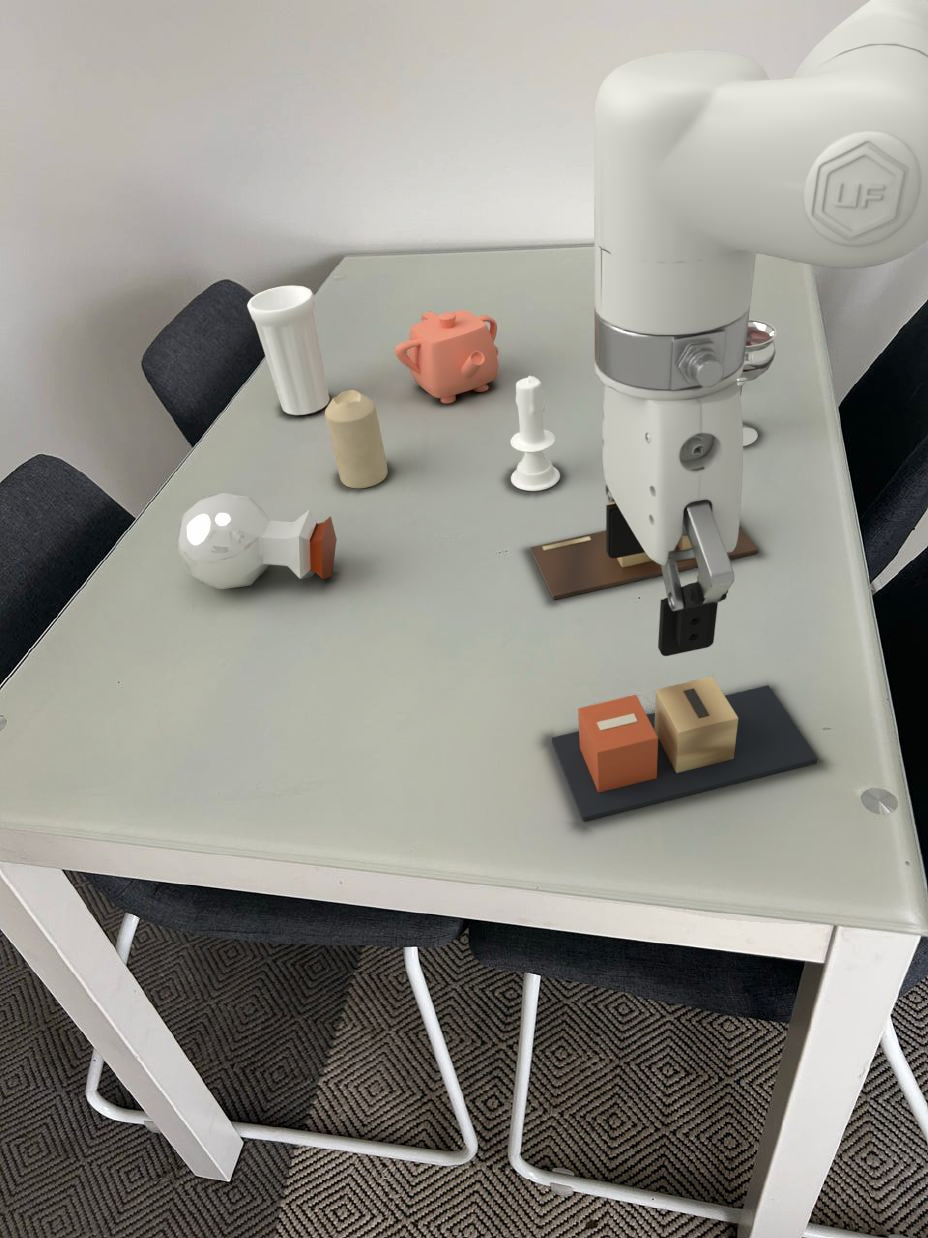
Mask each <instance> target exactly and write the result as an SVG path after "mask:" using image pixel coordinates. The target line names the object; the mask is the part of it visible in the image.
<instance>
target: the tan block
mask: <svg viewBox="0 0 928 1238" xmlns="http://www.w3.org/2000/svg"><path fill="white" fill-rule="evenodd" d="M725 696H726V695H725V694H724V692H723V690H722V689H721V688H720V686H719V684H718V683H717V681H716V679H715V677H714V676H712V675H711V676H708V677H704V678H700V679H695V680H691V681H686V682H683V683H678V684H674V685H670V686H665V687H661V688H658V689H657V688H656V689H655V698H654V699H655V700H654V713H655V732H656V734H657V736H658V738H659V740H660V742H661V744H662V746H663V748H664V750H665V752H666V754H667V756H668V758H669V760H670V762H671V763H672V765H673V767H674V769H675V771H676V773H679V772H683V771H687V770H691V769H695V768H699V767H703V766H707V765H711V764H715V763H719V762H723V761H727V760H731V759H734V751H735V743H736V734H737V725H738V717H737V715H736V713H735V712H734V710H733V709H732V707H731V705H730V704H729V702H728V700H727V699H726V697H725Z"/></svg>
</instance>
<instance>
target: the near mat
mask: <svg viewBox="0 0 928 1238" xmlns="http://www.w3.org/2000/svg"><path fill="white" fill-rule="evenodd" d="M724 696H725V697H726V699H727V700H728V702H729V704H730V705H731V707H732V709H733V710H734V712H735V713H736V715H737V717H738V725H737V734H736V743H735V751H734V759H731V760H727V761H723V762H719V763H715V764H711V765H707V766H703V767H699V768H695V769H691V770H687V771H683V772H679V773H676V771H675V769H674V767H673V765H672V763H671V762H670V760H669V758H668V756H667V754H666V752H665V750H664V748H663V746H662V744H661V742H660V740H659V738H658V754H657V778H656V779H652V780H648V781H644V782H640V783H636V784H632V785H628V786H624V787H620V788H615V789H611V790H607V791H603V792H598V790H597V788H596V785H595V783H594V781H593V778H592V776H591V774H590V771H589V769H588V766H587V764H586V762H585V759H584V757H583V755H582V752H581V750H580V739H579V730H578V731H574V732H570V733H565V734H562V735H558V736H554V737H551V743H552V745H553V748H554V751H555V753H556V756H557V758H558V762H559V763H560V766H561V768H562V771H563V774H564V776H565V779H566V781H567V784H568V786H569V789H570V791H571V794H572V797H573V800H574V802H575V805H576V807H577V809H578V812H579V815H580V817H581V820H582V822H586V821H590V820H595V819H598V818H602V817H605V816H610V815H615V814H618V813H623V812H626V811H630V810H634V809H638V808H642V807H646V806H650V805H654V804H658V803H662V802H666V801H670V800H673V799H679V798H682V797H685V796H686V797H687V796H690V795H694V794H697V793H701V792H706V791H709V790H714V789H717V788H722V787H725V786H729V785H733V784H738V783H741V782H745V781H749V780H753V779H757V778H761V777H765V776H769V775H773V774H777V773H781V772H785V771H789V770H793V769H797V768H801V767H805V766H808V765H812V764H816V763H818V761H819V759H818V756H817V755H816V753H815V752H814V751H813V749H812V747H811V746H810V745H809V743H808V741H807V740H806V739H805V737H804V735H803V734H802V733H801V731H800V729H799V728H798V726H797V725H796V724H795V722H794V721H793V719H792V718H791V717H790V714H788V712H787V711H786V709H785V708H784V706H783V705H782V703H781V702H780V699H778V697H777V696H776V694H775V693H774V692H773V690H772V689H771V687H770V686H769V685H768V684H767V685H762V686H759V687H754V688H750V689H747V690H743V691H739V692H734V693H730V694H726V695H724ZM646 715H647V717H648V719H649V721H650V723H651V725H652V727H653V729H654V731H655V712H651V713H648V714H647V713H646ZM655 733H656V732H655ZM656 735H657V734H656ZM657 737H658V736H657Z"/></svg>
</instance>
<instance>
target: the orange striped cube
mask: <svg viewBox="0 0 928 1238" xmlns="http://www.w3.org/2000/svg"><path fill="white" fill-rule="evenodd" d="M577 714H578V731H579V739H580V750H581V752H582V755H583V757H584V759H585V762H586V764H587V766H588V769H589V771H590V774H591V776H592V778H593V781H594V783H595V785H596V788H597V790H598V792H603V791H607V790H611V789H615V788H620V787H624V786H628V785H632V784H636V783H640V782H644V781H648V780H652V779H656V778H657V754H658V737H657V735H656V733H655V731H654V729H653V727H652V725H651V723H650V721H649V719H648V717H647V713H646V711H645V710H644V707H643V705H642V704H641V701H640V700H639V698H638V695H637V694H633V695H629V696H624V697H619V698H615V699H610V700H608V701H603V702H599V703H595V704H592V705H587V706H583V707H579V708H577Z"/></svg>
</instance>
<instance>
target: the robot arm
mask: <svg viewBox="0 0 928 1238" xmlns="http://www.w3.org/2000/svg"><path fill="white" fill-rule="evenodd" d="M593 223H594V224H593V242H594V243H593V251H594V252H593V257H594V260H593V263H594V264H593V265H594V267H593V268H594V269H593V270H594V271H593V272H594V273H593V275H594V277H593V279H594V280H593V281H594V286H593V287H594V289H593V290H594V308H593V309H594V311H593V313H594V319H593V320H594V372H595V375H596V377H597V378H598V380H599V381H600V382H601V383H602V384H604V391H603V408H602V447H601V448H602V465H603V466H602V467H603V476H604V480H605V483H606V484H605V487H604V489H605V496H606V500H607V501H608V502H615V504H610V505H606V504H605V518H606V519H605V524H606V525H605V526H606V527H605V530H606V552H607V554H608V555H609V557H610V558H620V557H625V556H630V555H635V554H640V553H645V552H646V554H647V555H648V556H649V557H650V558H651V559H652V560H653V561H655V562H656V563H658V564H660V565H661V568H662V573H663V575H662V579H663V582H664V588H665V593H666V597H665V598H663V599H660V606H659V620H658V621H659V623H658V641H657V642H658V643H657V648H658V651H659V652H660V654H661V655H662V656H663V657H669V656H674V655H678V654H685V653H688V652H694V651H698V650H703V649H707V648H709V647H711V646H712V645H713V644H714V641H715V633H716V623H717V614H718V604H719V603H720V602H722V601H725V600H726V599H727V596H728V593H729V590H730V588H731V587H732V585H733V583H734V582H735V572H734V568H733V566H732V563H731V559H730V560H729V557H728V554H727V553H730V552H732V551H733V550H734V549H735V547H736V544H737V540H738V533H739V526H740V520H741V508H742V507H741V506H742V492H743V491H742V490H743V472H744V471H743V468H744V467H743V466H744V446H743V425H744V424H743V411H742V410H743V408H742V407H743V406H742V399H741V398H742V394H741V395H740V388H739V386H738V384H737V382H736V380H737V379H738V378H739V377H740V375H741V374H742V372H743V368H744V360H745V349H746V340H747V331H748V321H749V319H750V312H751V304H752V294H753V286H754V278H755V277H754V276H755V275H754V274H755V267H756V258H757V254H759V255H762V256H763V255H764V256H769V257H774V258H777V259H781V260H782V259H783V260H787V261H792V262H797V263H800V264H807V265H811V266H818V267H823V268H832V269H848V270H849V269H853V270H854V269H865V268H870V267H871V268H872V267H878V266H881V265H884V264H885V265H886V264H887V263H890V262H892V261H893V262H894V261H896V260H897V259H901V258H903V257H904V256H907V255H908V254H910V253H912V252H913V251H915V250H917V249H918V248H920V247H921V246H923V245H924V244H925V243H927V241H928V0H868V1H867V2H866V3H865V4H863V5H862V6H861V7H859V9H857V10H856V11H854V12H853V13H851V14H850V15H849V16H848V17H847V18H845V20H843V21H842V22H841V23H840V24H838V25H837V26H836V27H835V28H833V29H832V30H831V31H830V32H829V33H827V34H826V35H825V36H824V37H823V38H822V39H821V41H819V42H818V43H817V44H816V45H815V46H814V47H813V48H812V50H811V51H810V52H809V53H808V55H807V56H806V57H805V58H804V59H803V61H802V62H801V63H800V65H799V67H798V68H797V70H796V71H795V73H794V75H793V77H790V78H780V79H779V78H778V79H777V78H776V79H770V77H769V75H768V74H767V72H766V70H765V68H764V67H763V66H762V65H761V64H760V63H759V62H758V61H756V60H755V59H753V58H751V57H749V56H746V55H743V54H740V53H737V52H732V51H726V50H714V49H713V50H712V49H711V50H710V49H709V50H706V49H695V50H694V49H693V50H679V51H670V52H669V51H668V52H663V53H656V54H651V55H646V56H641V57H639V58H636V59H633V60H631V61H628V62H625V63H624V64H621V65H619V66H618V67H616V68H614V69H613V70H612V71H611V72H610V73H609V74H608V75H607V76H606V77H605V78H604V79H603V81H602V83H601V85H600V86H599V88H598V91H597V94H596V99H595V103H594V111H593ZM685 536H688V538H689V541H690V544H691V547H692V548H689V549H684V550H680V551H675V552H671V551H674V549H675V548H676V546H677V544H678V542H679V540H680V538H681V537H685ZM691 559H696V561H697V564H698V567H697V568H698V574H697V576H696V579H697V581H695V582H691V583H688V584H685V585H682V584H681V583H682V582H681V579H680V578H681V577H680V573H679V571H678V568H677V563H676V562H681V561H686V560H691Z"/></svg>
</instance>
